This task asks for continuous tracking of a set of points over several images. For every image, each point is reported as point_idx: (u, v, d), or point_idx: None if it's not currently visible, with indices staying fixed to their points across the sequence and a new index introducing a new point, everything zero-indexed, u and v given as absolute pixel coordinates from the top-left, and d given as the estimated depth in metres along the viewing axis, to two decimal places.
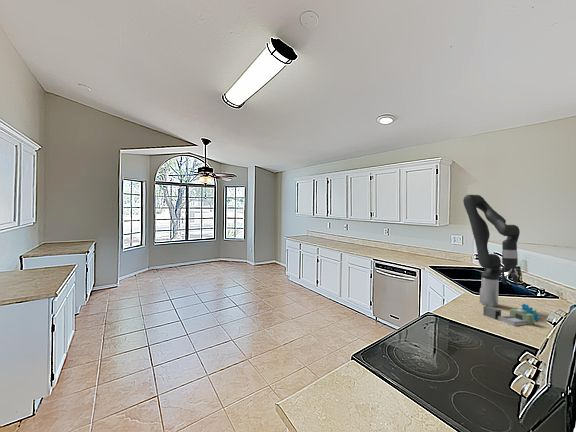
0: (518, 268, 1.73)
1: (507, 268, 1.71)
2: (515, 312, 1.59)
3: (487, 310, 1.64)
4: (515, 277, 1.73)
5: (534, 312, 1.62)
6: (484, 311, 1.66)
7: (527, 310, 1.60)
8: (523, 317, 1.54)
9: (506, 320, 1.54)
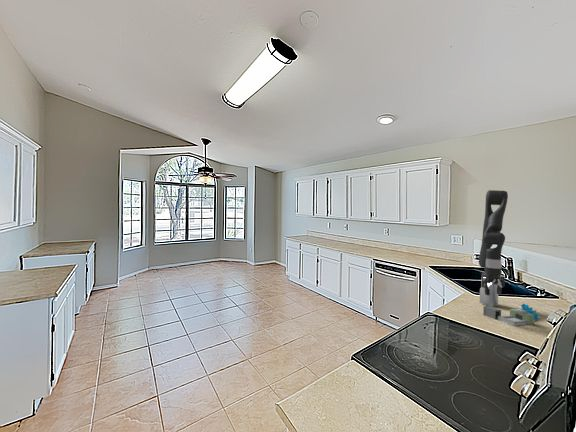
0: (502, 278, 1.64)
1: (490, 278, 1.61)
2: (515, 312, 1.59)
3: (487, 310, 1.64)
4: (498, 288, 1.64)
5: (534, 312, 1.62)
6: (484, 311, 1.66)
7: (527, 310, 1.61)
8: (523, 317, 1.54)
9: (506, 320, 1.54)
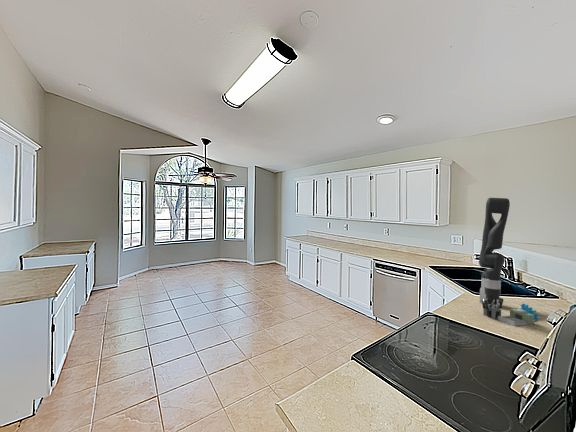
0: (501, 300, 1.64)
1: (489, 300, 1.62)
2: (515, 312, 1.59)
3: None
4: None
5: (534, 312, 1.62)
6: (484, 311, 1.66)
7: (526, 310, 1.61)
8: (523, 317, 1.54)
9: (506, 320, 1.54)
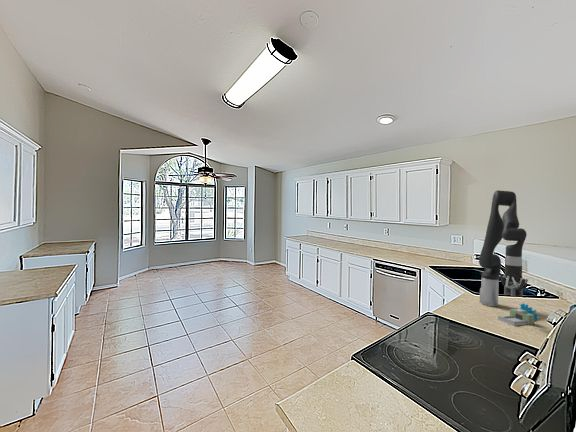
0: (522, 280, 1.50)
1: (505, 276, 1.59)
2: (515, 312, 1.59)
3: None
4: None
5: (533, 312, 1.62)
6: None
7: None
8: (523, 317, 1.54)
9: (506, 320, 1.54)
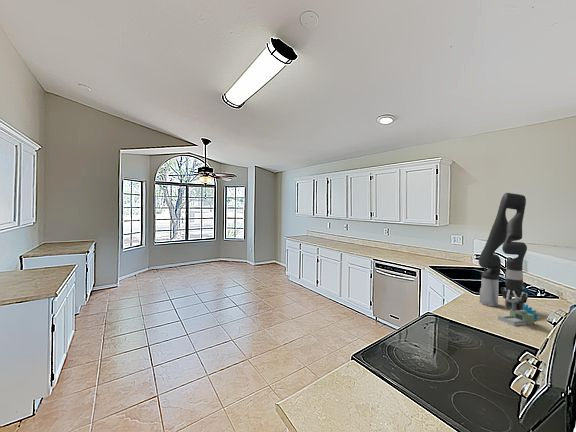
0: (523, 295, 1.50)
1: (506, 289, 1.58)
2: (515, 312, 1.59)
3: None
4: None
5: (533, 312, 1.62)
6: None
7: (525, 309, 1.61)
8: (523, 317, 1.54)
9: (506, 320, 1.54)
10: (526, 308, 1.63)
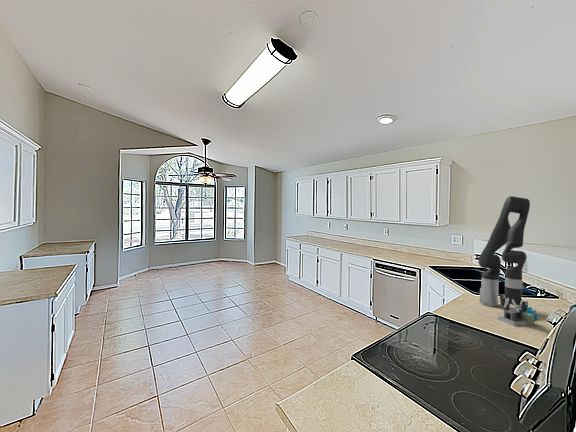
0: (522, 303, 1.50)
1: (505, 297, 1.59)
2: None
3: None
4: None
5: (533, 312, 1.62)
6: None
7: None
8: (523, 317, 1.54)
9: (506, 320, 1.54)
10: None
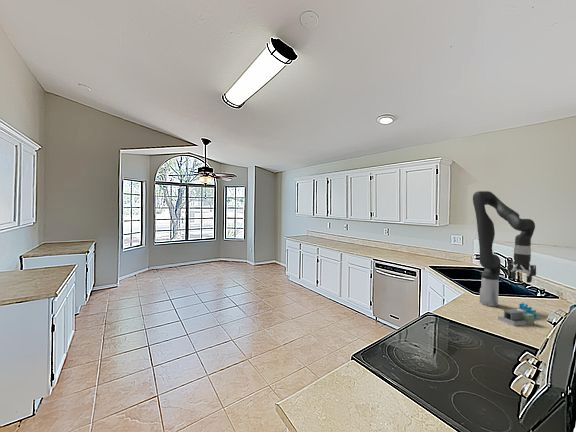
0: None
1: (514, 263, 1.66)
2: None
3: None
4: None
5: (532, 312, 1.62)
6: None
7: (524, 309, 1.62)
8: (523, 317, 1.54)
9: (506, 320, 1.54)
10: (525, 308, 1.63)
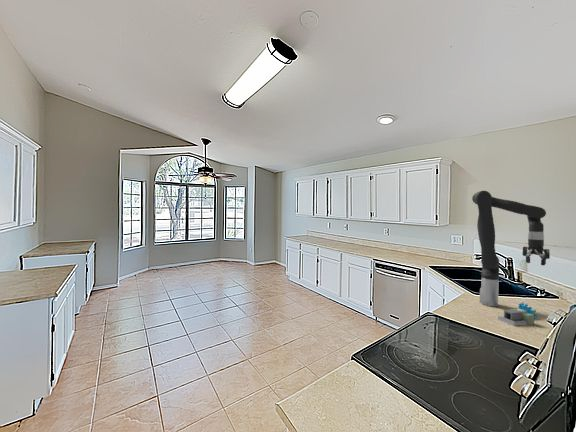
0: None
1: (529, 248, 1.82)
2: None
3: None
4: None
5: (532, 311, 1.63)
6: None
7: (524, 309, 1.62)
8: (523, 317, 1.54)
9: (506, 320, 1.54)
10: (525, 307, 1.63)
